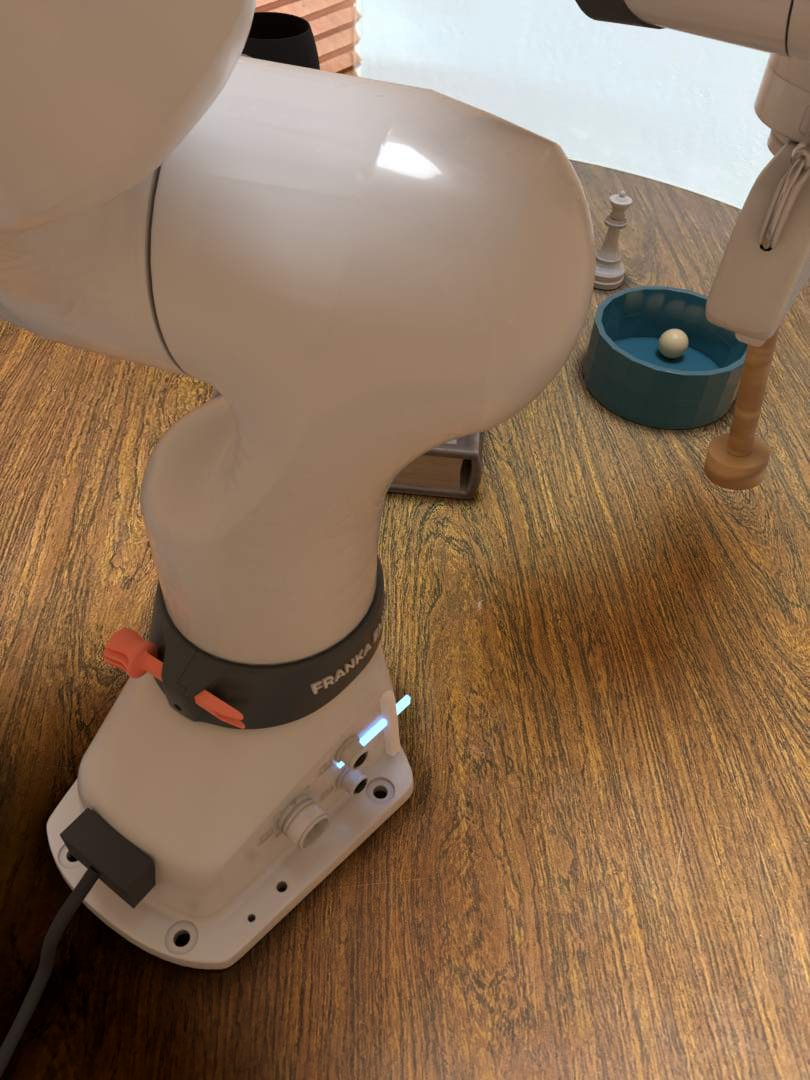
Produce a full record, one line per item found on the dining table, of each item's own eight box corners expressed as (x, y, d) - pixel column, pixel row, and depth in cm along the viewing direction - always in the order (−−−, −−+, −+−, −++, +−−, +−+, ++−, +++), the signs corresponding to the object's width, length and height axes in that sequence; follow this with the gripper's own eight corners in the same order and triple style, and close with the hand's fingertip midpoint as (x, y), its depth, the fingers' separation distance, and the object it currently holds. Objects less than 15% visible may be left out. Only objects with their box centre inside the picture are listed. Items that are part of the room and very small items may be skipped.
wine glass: (320, 238, 98) (314, 45, 83) (229, 234, 98) (206, 39, 83) (327, 196, 105) (323, 11, 90) (242, 192, 105) (223, 6, 90)
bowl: (702, 450, 75) (724, 395, 71) (557, 391, 80) (569, 336, 76) (752, 372, 84) (774, 318, 79) (618, 323, 89) (632, 270, 84)
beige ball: (678, 368, 83) (675, 349, 81) (654, 358, 85) (650, 339, 82) (695, 347, 83) (693, 328, 81) (671, 338, 85) (668, 318, 83)
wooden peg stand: (733, 498, 58) (786, 257, 46) (691, 468, 61) (732, 233, 49) (777, 476, 59) (839, 237, 48) (734, 448, 62) (783, 215, 50)
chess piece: (618, 269, 96) (639, 181, 89) (626, 290, 93) (649, 201, 86) (579, 268, 96) (597, 180, 88) (586, 289, 93) (605, 200, 85)
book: (276, 281, 91) (273, 237, 88) (486, 299, 91) (491, 255, 87) (206, 475, 70) (198, 428, 67) (477, 500, 70) (484, 454, 66)
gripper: (873, 179, 35) (757, 437, 45) (958, 46, 47) (850, 274, 57) (724, 138, 37) (645, 393, 47) (841, 21, 49) (758, 245, 59)
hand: (758, 327), depth 52 cm, fingers closed on wooden peg stand, 2 cm apart
